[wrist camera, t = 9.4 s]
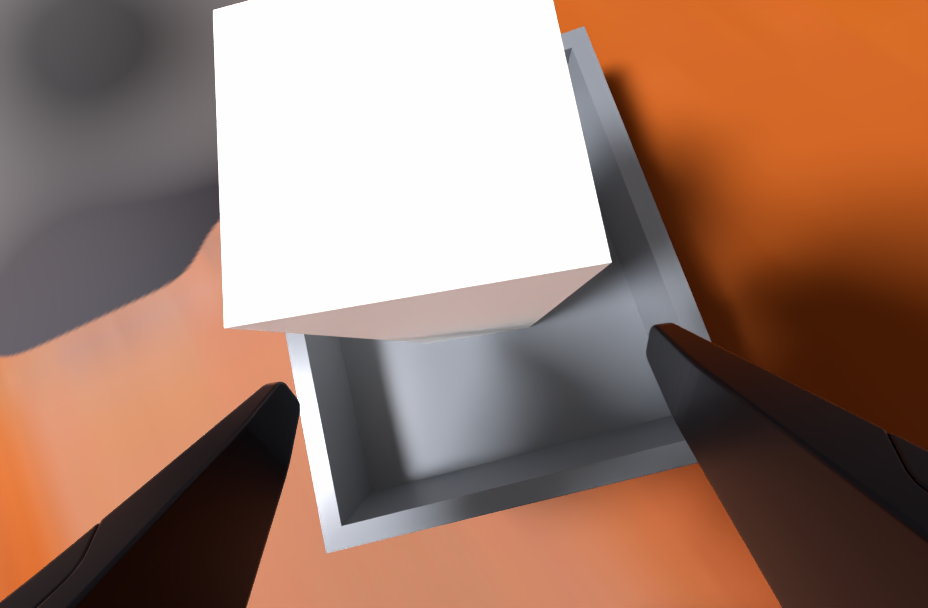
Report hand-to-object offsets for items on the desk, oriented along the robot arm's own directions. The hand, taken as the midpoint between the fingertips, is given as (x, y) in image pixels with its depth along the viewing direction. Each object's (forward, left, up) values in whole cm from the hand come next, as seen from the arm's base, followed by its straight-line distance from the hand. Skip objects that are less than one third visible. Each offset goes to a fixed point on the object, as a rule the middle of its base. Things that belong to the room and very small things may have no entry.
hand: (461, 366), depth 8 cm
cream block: (+4, 0, -8) cm, 9 cm away
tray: (+4, 0, -9) cm, 10 cm away
